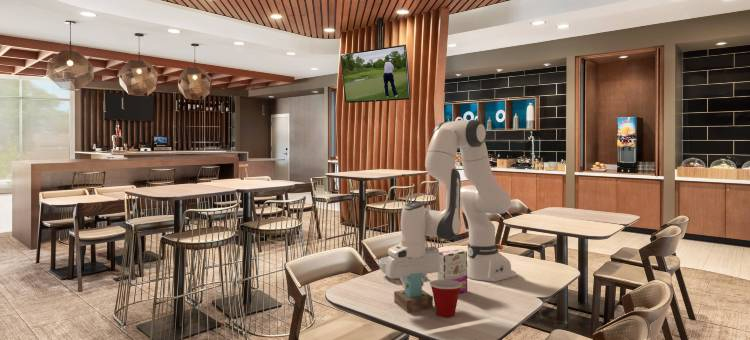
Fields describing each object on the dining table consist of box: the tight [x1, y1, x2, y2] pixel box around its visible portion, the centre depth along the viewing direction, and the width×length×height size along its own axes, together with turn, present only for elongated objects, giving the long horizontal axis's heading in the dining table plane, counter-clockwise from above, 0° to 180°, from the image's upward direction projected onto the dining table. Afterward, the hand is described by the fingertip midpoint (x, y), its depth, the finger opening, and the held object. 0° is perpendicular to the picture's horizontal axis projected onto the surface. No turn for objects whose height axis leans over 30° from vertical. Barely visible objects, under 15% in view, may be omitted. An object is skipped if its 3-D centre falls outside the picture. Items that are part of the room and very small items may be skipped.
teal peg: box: [404, 273, 423, 298], centre depth 166 cm, size 4×4×12 cm
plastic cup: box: [429, 279, 462, 319], centre depth 157 cm, size 11×11×12 cm
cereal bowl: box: [378, 256, 401, 280], centre depth 202 cm, size 17×17×7 cm
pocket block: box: [393, 289, 434, 313], centre depth 166 cm, size 10×10×5 cm
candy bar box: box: [437, 248, 468, 294], centre depth 180 cm, size 11×5×16 cm, turn 117°
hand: (413, 286), depth 166 cm, fingers closed on teal peg, 4 cm apart
